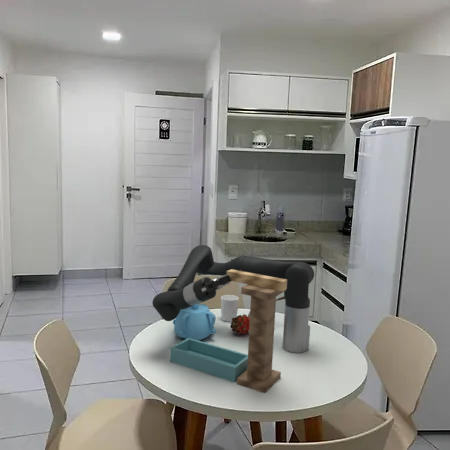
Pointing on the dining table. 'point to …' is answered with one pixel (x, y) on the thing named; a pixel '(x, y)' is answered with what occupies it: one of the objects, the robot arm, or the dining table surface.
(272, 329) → the stand
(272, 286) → the bar
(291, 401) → the dining table surface
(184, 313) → the decorative pot
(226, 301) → the white cup
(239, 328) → the dragon fruit
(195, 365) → the tray
